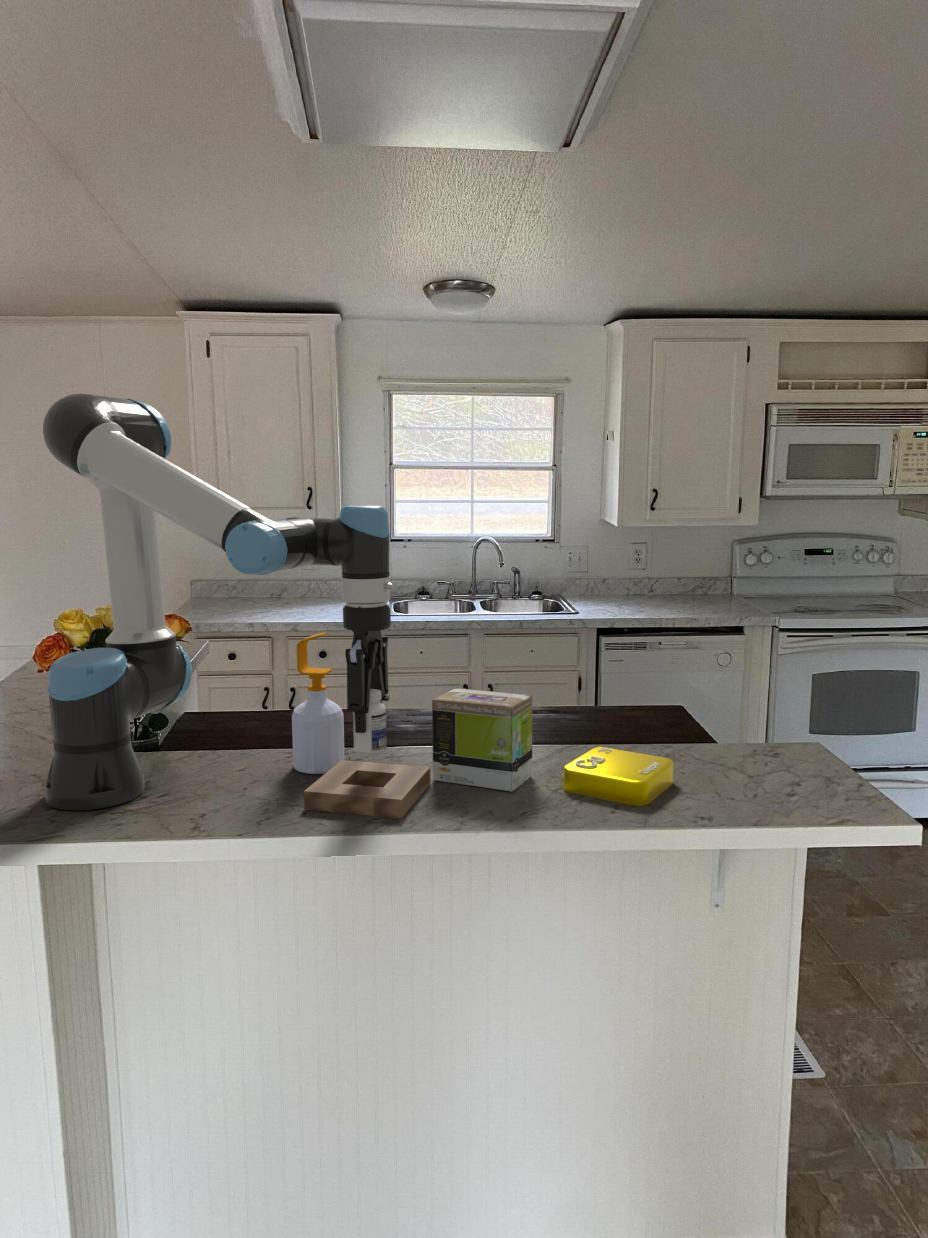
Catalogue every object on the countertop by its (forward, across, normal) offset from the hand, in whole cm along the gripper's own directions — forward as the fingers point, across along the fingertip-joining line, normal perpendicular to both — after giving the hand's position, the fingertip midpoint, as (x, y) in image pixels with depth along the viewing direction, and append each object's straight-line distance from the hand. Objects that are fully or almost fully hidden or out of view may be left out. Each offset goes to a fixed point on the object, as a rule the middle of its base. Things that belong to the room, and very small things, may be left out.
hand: (369, 745), depth 143 cm
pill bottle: (+1, 0, 0) cm, 1 cm away
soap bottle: (+9, +12, +14) cm, 21 cm away
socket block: (+9, 0, 0) cm, 9 cm away
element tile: (+10, +15, -39) cm, 43 cm away
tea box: (+9, +13, -16) cm, 22 cm away
